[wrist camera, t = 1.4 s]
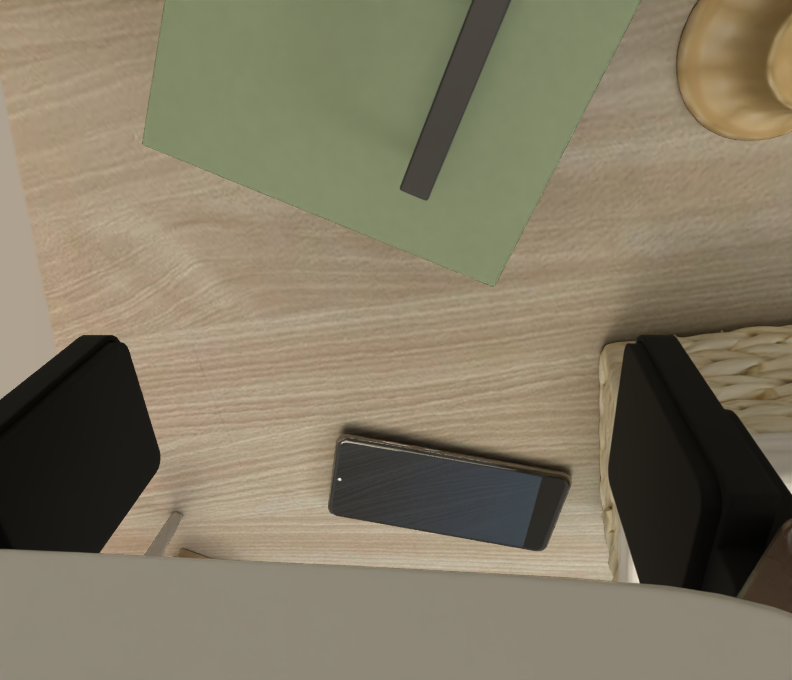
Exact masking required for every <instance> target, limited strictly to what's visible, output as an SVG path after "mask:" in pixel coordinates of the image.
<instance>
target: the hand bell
mask: <svg viewBox="0 0 792 680" xmlns="http://www.w3.org/2000/svg"><path fill="white" fill-rule="evenodd" d="M677 76H678V84H679V88H680V92H681V95H682V97H683V100H684V103H685V105H686V107H687V109H688V110H689V111H690V112H691V114H692V115H693V116H694V117H695V119H696V120H697V121H698V122H700V123H701V124H702V125H703V126H704V127H706V128H707V129H709V130H710V131H712V132H714V133H716V134H718V135H720V136H723V137H726V138H730V139H735V140H744V141H754V140H763V139H769V138H774V137H778V136H781V135H784V134H787V133H789V132H792V0H699V1H698V3H697V4H696V6H695V7H694V9H693V11H692V12H691V14H690V16H689V18H688V21H687V23H686V26H685V28H684V31H683V33H682V37H681V40H680V44H679V49H678V56H677Z"/></svg>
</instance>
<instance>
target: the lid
mask: <svg viewBox="0 0 792 680" xmlns="http://www.w3.org/2000/svg"><path fill="white" fill-rule="evenodd" d="M640 2H641V0H165V2H164V9H163V15H162V21H161V28H160V34H159V40H158V46H157V53H156V59H155V65H154V72H153V78H152V84H151V91H150V97H149V103H148V109H147V116H146V122H145V128H144V135H143V141H142V144H143V145H145V146H147V147H149V148H152V149H154V150H157V151H159V152H162V153H164V154H167V155H169V156H172V157H174V158H177V159H179V160H182V161H184V162H186V163H189V164H191V165H194V166H196V167H199V168H201V169H204V170H206V171H209V172H211V173H214V174H216V175H218V176H221V177H223V178H226V179H228V180H231V181H233V182H236V183H238V184H241V185H243V186H246V187H248V188H250V189H253V190H255V191H258V192H260V193H263V194H265V195H268V196H270V197H273V198H275V199H278V200H280V201H282V202H285V203H287V204H290V205H292V206H295V207H297V208H300V209H302V210H305V211H307V212H310V213H312V214H314V215H317V216H319V217H322V218H324V219H327V220H329V221H332V222H334V223H337V224H339V225H342V226H344V227H347V228H349V229H351V230H354V231H356V232H359V233H361V234H364V235H366V236H369V237H371V238H374V239H376V240H379V241H381V242H383V243H386V244H388V245H391V246H393V247H396V248H398V249H401V250H403V251H406V252H408V253H411V254H413V255H415V256H418V257H420V258H423V259H425V260H428V261H430V262H433V263H435V264H438V265H440V266H443V267H445V268H447V269H450V270H452V271H455V272H457V273H460V274H462V275H465V276H467V277H470V278H472V279H475V280H477V281H479V282H482V283H484V284H487V285H489V286H492V287H494V286H495V285H496V283H497V281H498V279H499V277H500V275H501V273H502V271H503V269H504V267H505V265H506V263H507V261H508V259H509V258H510V256H511V254H512V252H513V250H514V248H515V246H516V244H517V242H518V240H519V238H520V236H521V234H522V232H523V230H524V228H525V226H526V224H527V222H528V221H529V219H530V217H531V215H532V213H533V211H534V209H535V207H536V205H537V203H538V201H539V199H540V197H541V195H542V193H543V191H544V189H545V187H546V185H547V183H548V182H549V180H550V178H551V176H552V174H553V172H554V170H555V168H556V166H557V164H558V162H559V160H560V158H561V156H562V154H563V152H564V150H565V148H566V146H567V145H568V143H569V141H570V139H571V137H572V135H573V133H574V131H575V129H576V127H577V125H578V123H579V121H580V119H581V117H582V115H583V113H584V111H585V109H586V108H587V106H588V104H589V102H590V100H591V98H592V96H593V94H594V92H595V90H596V88H597V86H598V84H599V82H600V80H601V78H602V76H603V74H604V72H605V70H606V69H607V67H608V65H609V63H610V61H611V59H612V57H613V55H614V53H615V51H616V49H617V47H618V45H619V43H620V41H621V39H622V37H623V35H624V33H625V32H626V30H627V28H628V26H629V24H630V22H631V20H632V18H633V16H634V14H635V12H636V10H637V8H638V6H639V4H640Z"/></svg>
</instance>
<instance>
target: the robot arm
mask: <svg viewBox="0 0 792 680" xmlns="http://www.w3.org/2000/svg"><path fill="white" fill-rule="evenodd" d="M159 465H160V451H159V447H158V444H157V441H156V437H155V434H154V431H153V428H152V424H151V421H150V418H149V414H148V411H147V408H146V405H145V401H144V398H143V395H142V391H141V388H140V385H139V382H138V378H137V375H136V372H135V369H134V365H133V362H132V359H131V355H130V352H129V349H128V347H127V346H126V345H125V344H124V343H122V342H120V341H119V339H118V338H117V337H115V336H113V335H83V336H81V337H79V338H78V339H76V340H75V341H74V342H73V343H71V344H70V345H69V346H68V347H66V348H65V349H64V350H62V351H61V352H60V353H59V354H57V355H56V356H55V357H54V358H52V359H51V360H50V361H49V362H47V363H46V364H45V365H44V366H42V367H41V368H40V369H39V370H37V371H36V372H35V373H33V374H32V375H31V376H30V377H28V378H27V379H26V380H25V381H23V382H22V383H21V384H20V385H18V386H17V387H16V388H15V389H13V390H12V391H11V392H10V393H8V394H7V395H6V396H4V397H3V398H2V399H1V400H0V680H792V494H791V492H790V491H789V490H788V488H787V487H786V485H785V484H784V482H783V481H782V479H781V478H780V477H779V475H778V474H777V472H776V471H775V469H774V468H773V466H772V465H771V463H770V462H769V461H768V459H767V458H766V456H765V455H764V453H763V452H762V450H761V449H760V448H759V446H758V445H757V443H756V442H755V440H754V439H753V437H752V436H751V434H750V433H749V432H748V430H747V429H746V427H745V426H744V424H743V423H742V421H741V420H740V419H739V417H738V416H737V415H736V414H735V413H734V412H733V411H732V410H728V409H724V408H723V406H722V405H721V403H720V402H719V400H718V399H717V397H716V396H715V394H714V393H713V391H712V390H711V388H710V387H709V385H708V384H707V382H706V381H705V379H704V378H703V376H702V375H701V373H700V372H699V370H698V369H697V367H696V366H695V364H694V363H693V361H692V360H691V358H690V357H689V355H688V354H687V352H686V351H685V349H684V348H683V346H682V345H681V343H680V342H679V340H678V339H677V337H675V336H674V335H639V336H638V337H637V340H636V343H627V344H626V346H625V349H624V354H623V362H622V369H621V376H620V383H619V390H618V397H617V405H616V412H615V419H614V426H613V433H612V440H611V447H610V455H609V462H608V478H609V484H610V488H611V491H612V494H613V497H614V501H615V504H616V507H617V511H618V514H619V517H620V520H621V524H622V527H623V530H624V533H625V537H626V540H627V543H628V547H629V550H630V553H631V556H632V560H633V563H634V566H635V569H636V573H637V576H638V579H639V583H629V582H617V581H605V580H593V579H582V578H569V577H551V576H533V575H514V574H496V573H478V572H460V571H441V570H423V569H405V568H386V567H366V566H345V565H325V564H304V563H284V562H263V561H243V560H222V559H202V558H182V557H162V556H142V555H122V554H102V553H100V551H101V550H102V549H103V547H104V546H105V544H106V543H107V541H108V540H109V539H110V537H111V536H112V534H113V533H114V532H115V530H116V529H117V527H118V526H119V524H120V523H121V522H122V520H123V519H124V517H125V516H126V515H127V513H128V512H129V510H130V509H131V507H132V506H133V505H134V503H135V502H136V500H137V499H138V497H139V496H140V495H141V493H142V492H143V490H144V489H145V488H146V486H147V485H148V483H149V482H150V480H151V479H152V478H153V476H154V475H155V473H156V472H157V470H158V468H159Z"/></svg>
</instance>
